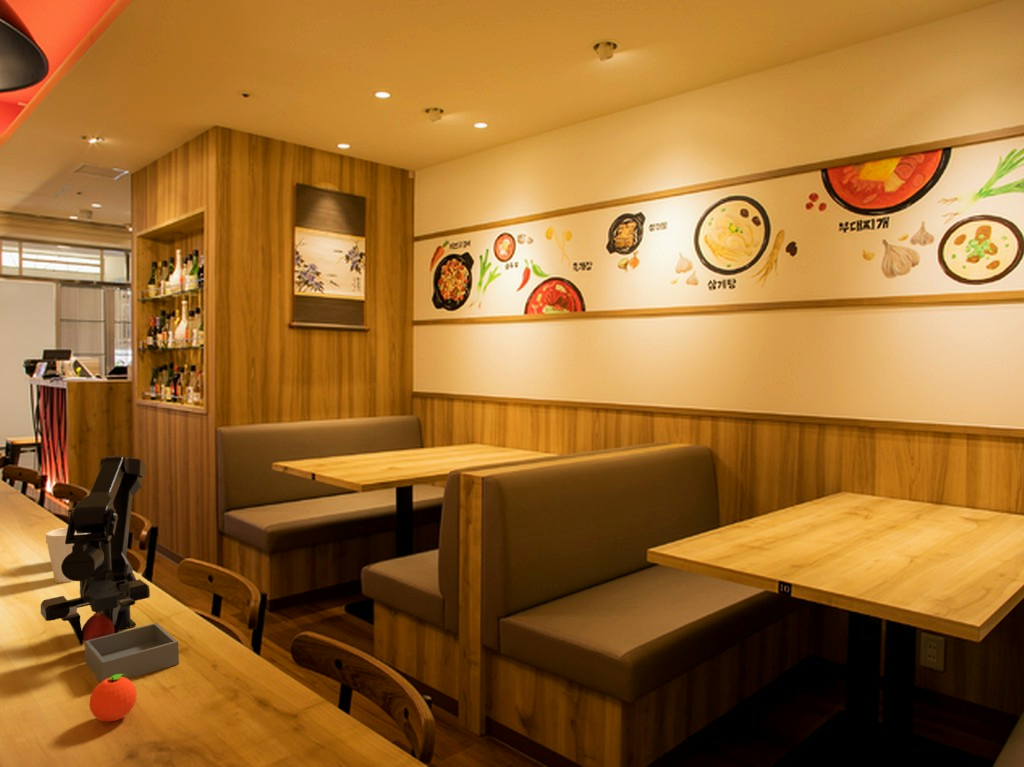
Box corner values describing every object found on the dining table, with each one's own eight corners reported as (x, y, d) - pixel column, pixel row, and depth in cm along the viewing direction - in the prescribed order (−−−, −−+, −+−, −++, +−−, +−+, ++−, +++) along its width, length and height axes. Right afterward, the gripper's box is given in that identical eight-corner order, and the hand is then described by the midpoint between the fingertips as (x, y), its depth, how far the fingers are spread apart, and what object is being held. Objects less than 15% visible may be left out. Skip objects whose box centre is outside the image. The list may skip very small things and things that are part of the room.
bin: (85, 663, 140) (84, 641, 140) (157, 643, 150) (156, 622, 149) (103, 686, 131) (102, 662, 131) (179, 664, 140) (178, 641, 140)
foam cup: (74, 584, 187) (72, 536, 186) (39, 584, 187) (37, 536, 186) (96, 573, 196) (94, 526, 196) (63, 573, 197) (61, 526, 196)
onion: (78, 656, 143) (76, 617, 143) (87, 644, 149) (85, 607, 148) (110, 652, 145) (109, 614, 144) (118, 641, 150) (116, 604, 150)
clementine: (106, 706, 124) (104, 666, 124) (147, 704, 124) (145, 664, 124) (81, 730, 116) (79, 688, 116) (125, 729, 116) (124, 686, 116)
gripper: (50, 585, 134) (54, 667, 135) (156, 564, 146) (159, 638, 147) (38, 572, 142) (42, 648, 143) (140, 552, 154) (143, 623, 155)
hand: (98, 639), depth 147 cm, fingers closed on onion, 6 cm apart
